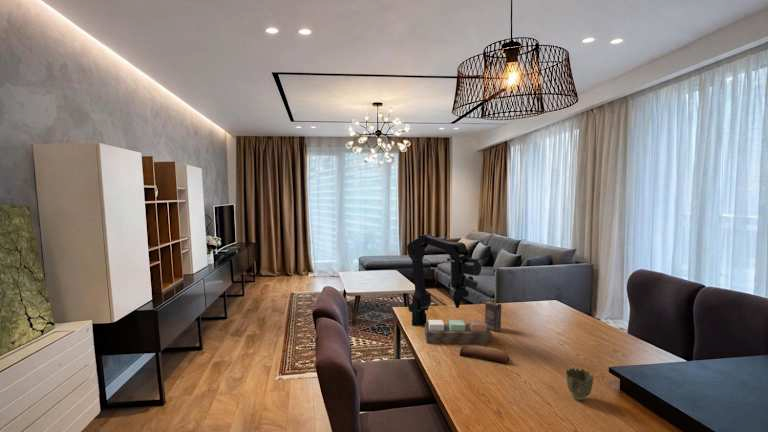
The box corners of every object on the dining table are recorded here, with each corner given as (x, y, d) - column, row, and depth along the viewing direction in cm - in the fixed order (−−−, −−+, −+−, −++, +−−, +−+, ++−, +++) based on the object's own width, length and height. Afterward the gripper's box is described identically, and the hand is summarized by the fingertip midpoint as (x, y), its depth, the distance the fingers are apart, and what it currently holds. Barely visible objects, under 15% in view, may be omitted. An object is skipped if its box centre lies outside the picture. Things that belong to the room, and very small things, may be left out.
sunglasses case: (510, 355, 142) (509, 343, 139) (508, 371, 137) (508, 359, 133) (463, 347, 149) (462, 336, 146) (460, 362, 144) (458, 351, 141)
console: (426, 343, 154) (426, 332, 154) (424, 333, 165) (424, 323, 164) (491, 343, 153) (491, 333, 153) (485, 334, 164) (485, 324, 164)
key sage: (450, 335, 156) (451, 324, 156) (448, 330, 162) (449, 320, 162) (465, 335, 156) (465, 325, 155) (462, 330, 162) (462, 320, 161)
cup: (560, 392, 115) (561, 368, 115) (582, 391, 116) (583, 367, 116) (574, 406, 108) (575, 380, 108) (598, 405, 109) (599, 378, 108)
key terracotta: (472, 335, 156) (472, 325, 155) (469, 330, 162) (469, 320, 161) (486, 335, 155) (486, 325, 155) (483, 330, 161) (483, 320, 161)
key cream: (429, 335, 156) (429, 324, 156) (428, 329, 162) (428, 319, 162) (443, 335, 156) (443, 324, 156) (442, 329, 162) (442, 319, 162)
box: (501, 329, 169) (501, 303, 169) (495, 331, 167) (496, 305, 166) (490, 325, 174) (490, 300, 173) (484, 328, 171) (484, 302, 170)
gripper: (481, 276, 148) (481, 314, 149) (471, 267, 167) (471, 301, 168) (453, 276, 149) (453, 314, 149) (447, 267, 167) (447, 301, 168)
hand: (457, 307), depth 159 cm, fingers closed
